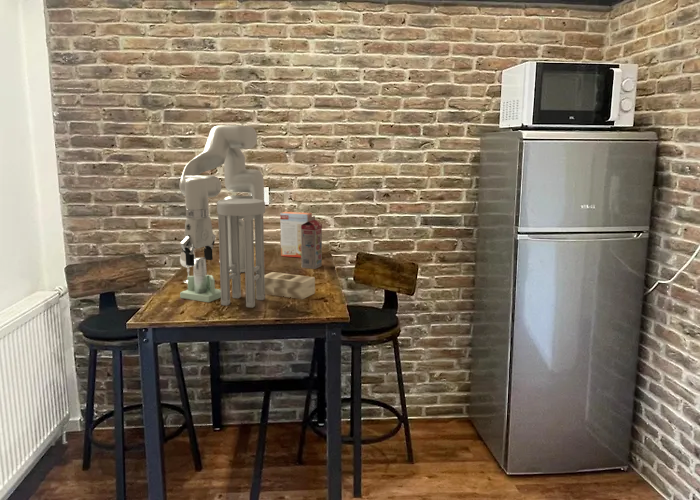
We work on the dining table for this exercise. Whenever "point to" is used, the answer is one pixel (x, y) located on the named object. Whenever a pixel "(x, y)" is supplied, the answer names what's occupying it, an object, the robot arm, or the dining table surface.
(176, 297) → the dining table surface
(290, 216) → the cracker box
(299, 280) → the beige block with hole
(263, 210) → the stool
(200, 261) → the steel axle
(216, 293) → the v-block
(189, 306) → the dining table surface
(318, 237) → the juice carton
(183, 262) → the wineglass
